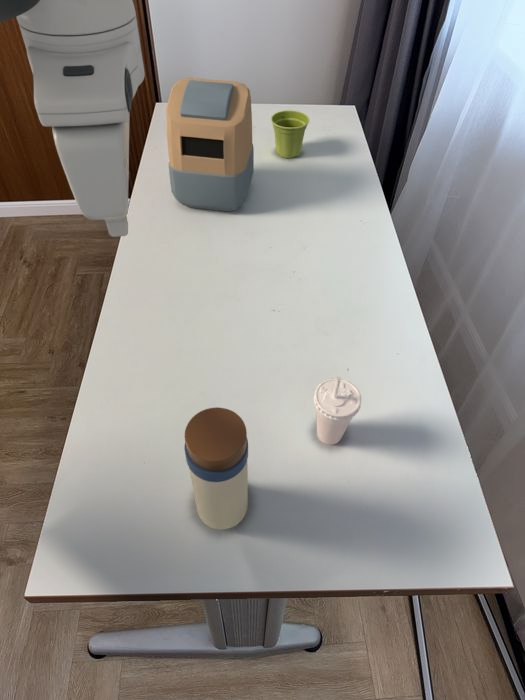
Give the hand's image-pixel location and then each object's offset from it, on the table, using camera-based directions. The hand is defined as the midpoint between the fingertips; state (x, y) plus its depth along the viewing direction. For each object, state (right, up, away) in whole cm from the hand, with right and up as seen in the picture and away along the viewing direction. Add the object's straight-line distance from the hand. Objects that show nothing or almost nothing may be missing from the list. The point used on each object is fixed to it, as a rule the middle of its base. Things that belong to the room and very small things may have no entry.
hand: (120, 204), depth 52 cm
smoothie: (+25, -28, +24) cm, 44 cm away
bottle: (+9, -36, +16) cm, 40 cm away
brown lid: (+10, -25, +4) cm, 27 cm away
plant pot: (+21, +35, +77) cm, 87 cm away
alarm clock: (+4, +21, +64) cm, 67 cm away
